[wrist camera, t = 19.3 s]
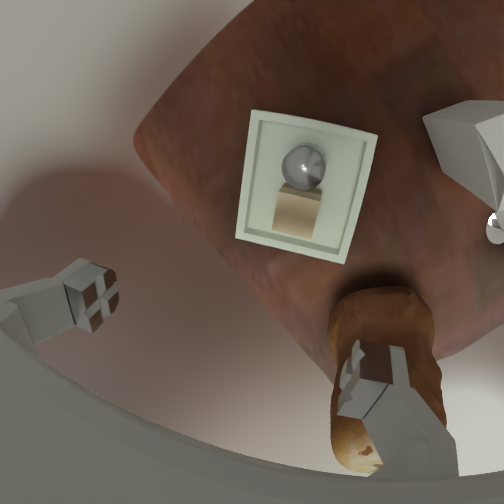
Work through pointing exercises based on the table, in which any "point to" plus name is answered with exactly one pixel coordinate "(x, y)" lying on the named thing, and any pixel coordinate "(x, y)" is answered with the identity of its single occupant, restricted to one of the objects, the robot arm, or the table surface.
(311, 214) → the beech block
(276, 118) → the tray
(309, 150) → the grey rounded cylinder
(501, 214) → the wineglass
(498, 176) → the milk carton
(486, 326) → the table surface
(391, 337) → the butternut squash
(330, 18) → the table surface
